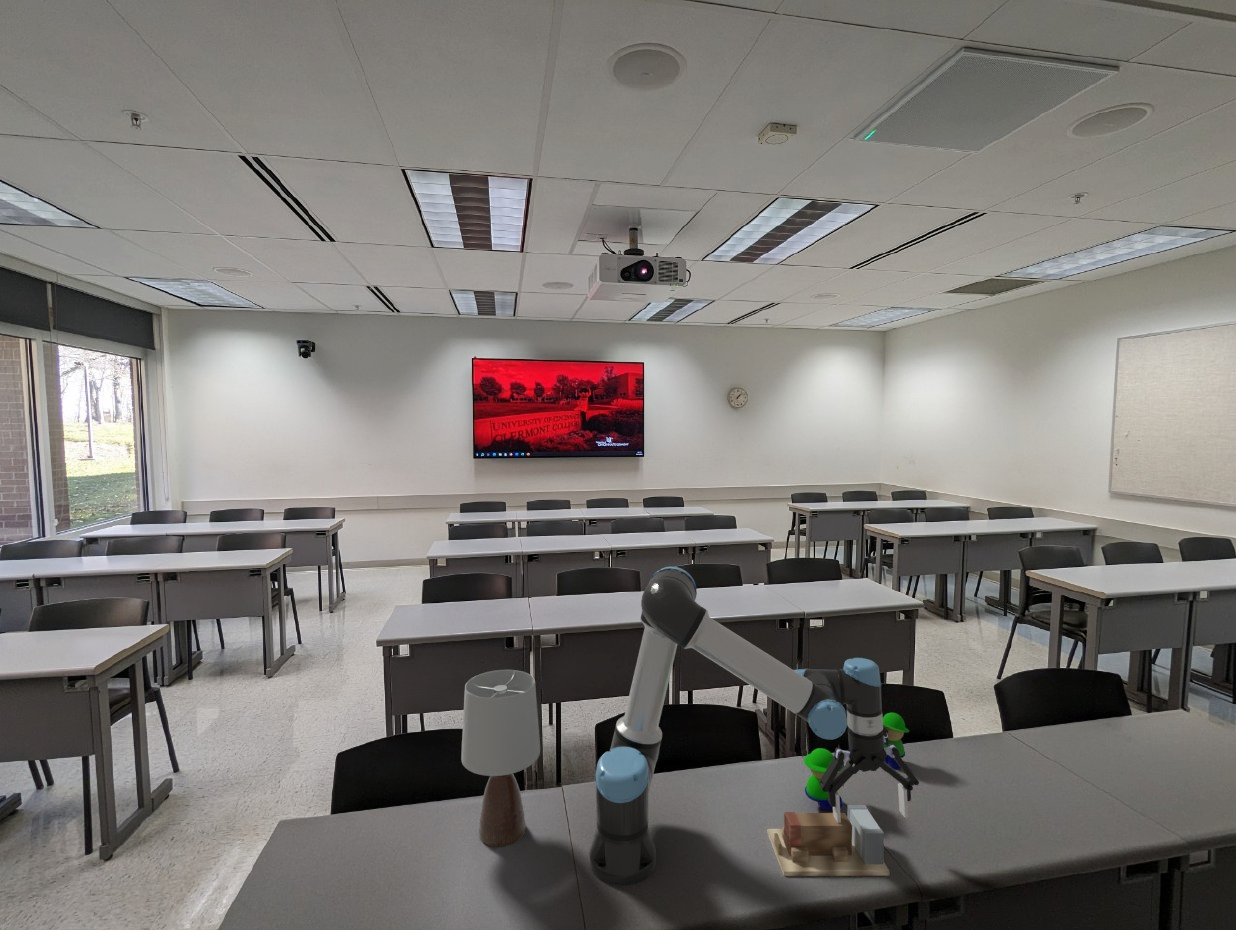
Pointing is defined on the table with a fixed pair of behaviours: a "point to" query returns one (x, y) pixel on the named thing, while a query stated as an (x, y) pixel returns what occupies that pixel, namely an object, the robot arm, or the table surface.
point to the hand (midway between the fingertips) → (870, 820)
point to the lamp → (500, 747)
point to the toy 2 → (893, 736)
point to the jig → (821, 861)
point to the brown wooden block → (817, 832)
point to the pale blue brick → (866, 834)
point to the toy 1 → (819, 776)
